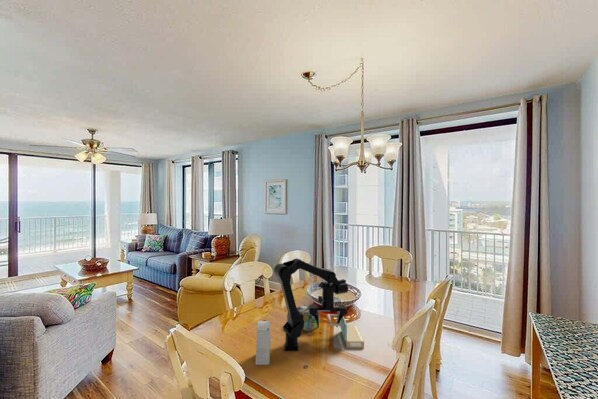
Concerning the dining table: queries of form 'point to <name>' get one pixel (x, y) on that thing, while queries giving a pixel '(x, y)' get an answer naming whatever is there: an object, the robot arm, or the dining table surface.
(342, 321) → the lid flap
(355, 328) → the carton
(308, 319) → the chalk box
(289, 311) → the robot arm
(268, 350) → the skincare box
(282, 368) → the dining table surface
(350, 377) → the dining table surface
